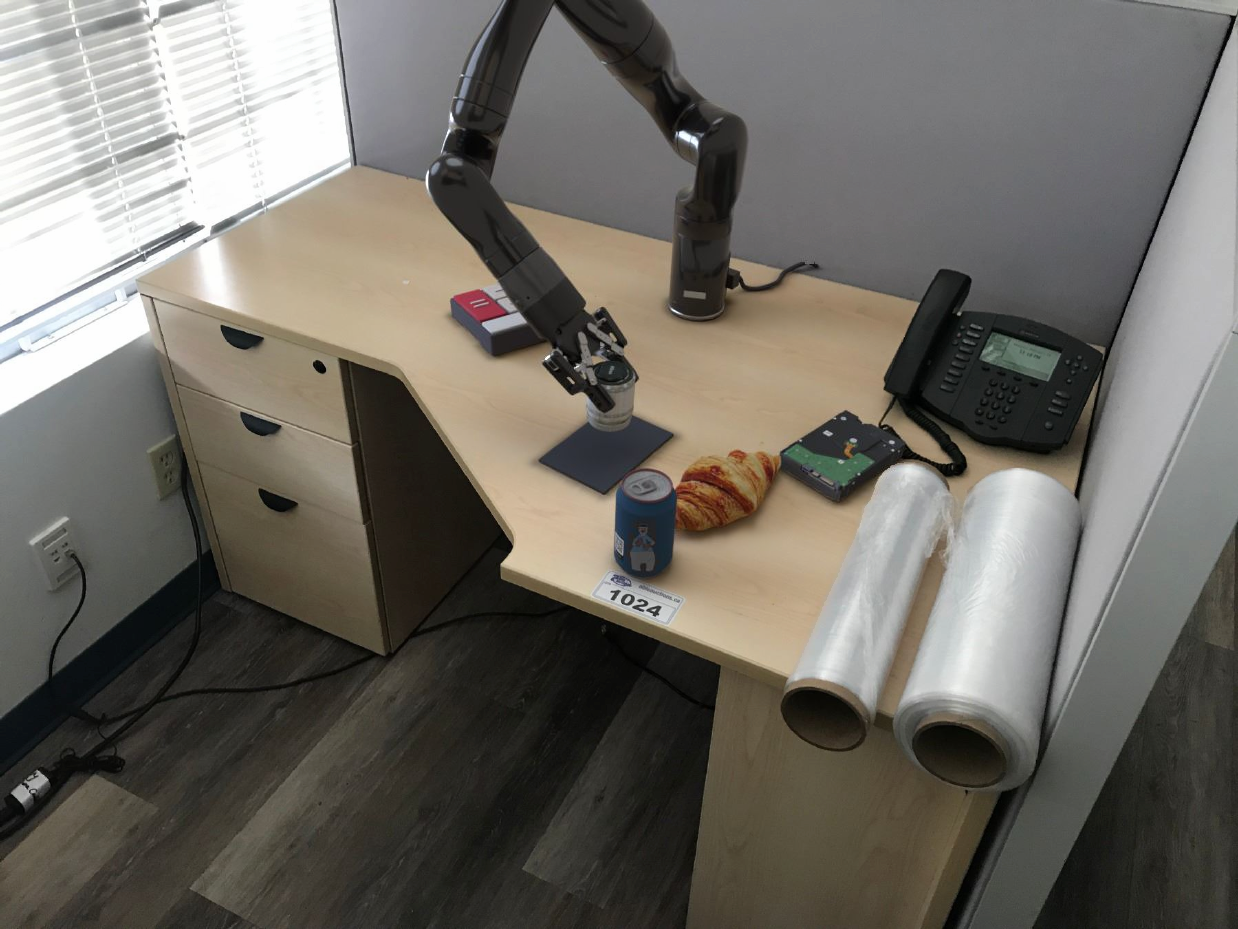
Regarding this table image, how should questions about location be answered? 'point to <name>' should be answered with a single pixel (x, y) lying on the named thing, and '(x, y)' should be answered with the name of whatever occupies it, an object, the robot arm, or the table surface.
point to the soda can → (645, 523)
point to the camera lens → (613, 396)
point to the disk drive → (841, 455)
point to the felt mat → (605, 453)
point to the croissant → (723, 488)
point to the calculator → (493, 320)
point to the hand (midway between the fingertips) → (622, 395)
